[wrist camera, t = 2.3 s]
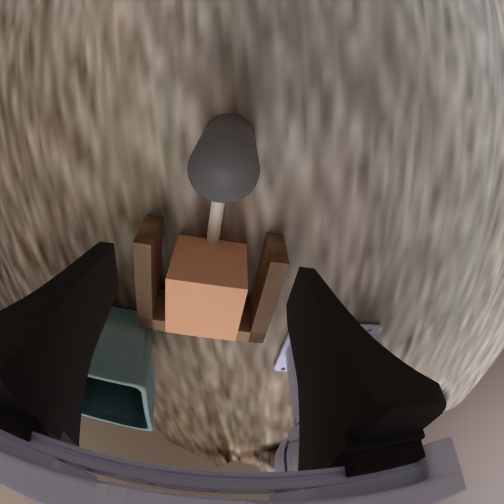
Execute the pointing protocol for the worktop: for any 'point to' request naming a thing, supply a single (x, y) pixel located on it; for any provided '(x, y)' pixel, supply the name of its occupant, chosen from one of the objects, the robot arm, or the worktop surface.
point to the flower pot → (121, 373)
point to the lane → (255, 310)
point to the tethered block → (213, 236)
